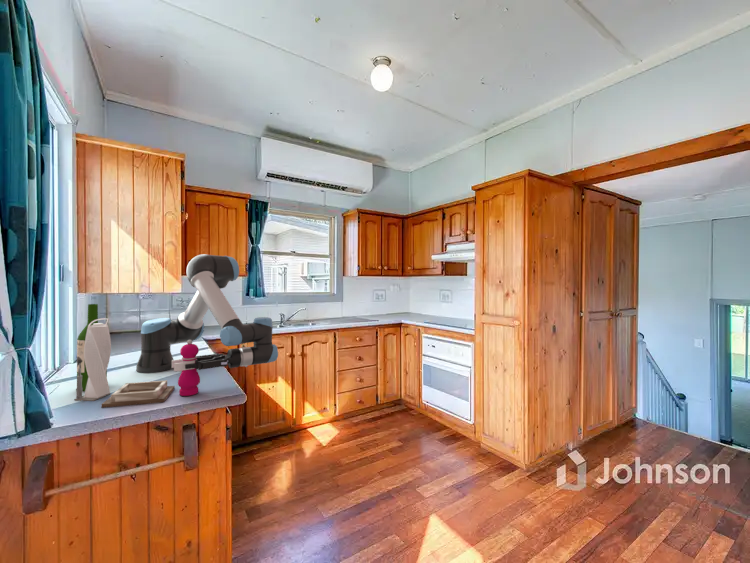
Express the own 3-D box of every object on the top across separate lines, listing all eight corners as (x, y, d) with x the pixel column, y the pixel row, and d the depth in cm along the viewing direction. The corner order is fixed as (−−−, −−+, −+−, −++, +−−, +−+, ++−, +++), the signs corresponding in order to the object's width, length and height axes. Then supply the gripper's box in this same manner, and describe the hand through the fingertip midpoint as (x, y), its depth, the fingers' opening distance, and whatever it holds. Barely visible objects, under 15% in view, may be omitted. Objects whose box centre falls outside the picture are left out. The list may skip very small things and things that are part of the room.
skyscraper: (95, 392, 126) (96, 317, 125) (116, 392, 125) (117, 318, 125) (74, 400, 117) (75, 320, 117) (97, 401, 117) (97, 320, 117)
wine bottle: (71, 389, 128) (72, 304, 128) (97, 383, 136) (98, 303, 136) (86, 392, 125) (87, 305, 125) (112, 385, 133) (113, 304, 133)
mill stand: (119, 393, 125) (119, 383, 125) (174, 388, 131) (174, 379, 131) (101, 407, 111) (101, 396, 111) (163, 402, 117) (163, 391, 117)
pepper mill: (190, 397, 121) (191, 342, 121) (173, 395, 123) (173, 340, 123) (204, 390, 128) (204, 338, 128) (187, 389, 130) (188, 337, 130)
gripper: (246, 371, 130) (176, 382, 115) (232, 362, 144) (169, 370, 129) (246, 352, 129) (177, 360, 115) (232, 344, 144) (169, 351, 129)
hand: (173, 365), depth 122 cm, fingers closed on pepper mill, 5 cm apart
